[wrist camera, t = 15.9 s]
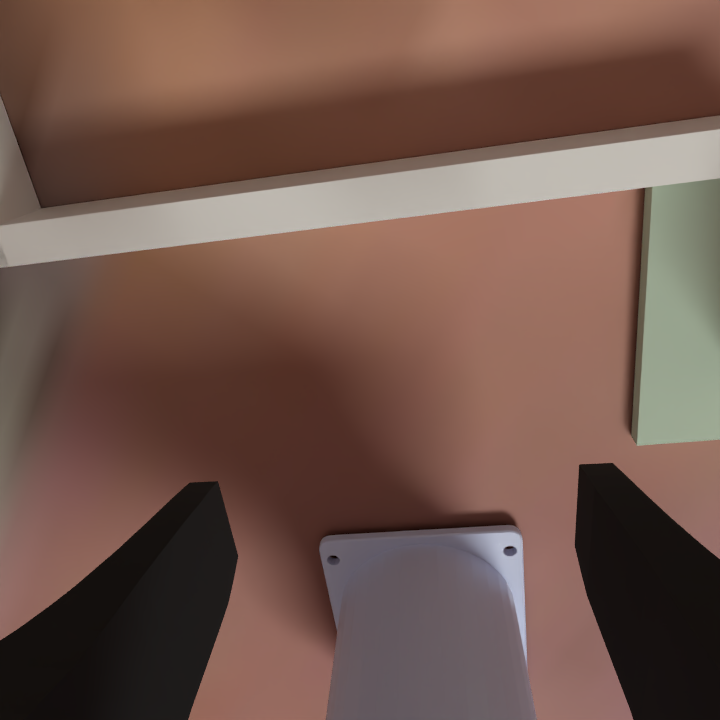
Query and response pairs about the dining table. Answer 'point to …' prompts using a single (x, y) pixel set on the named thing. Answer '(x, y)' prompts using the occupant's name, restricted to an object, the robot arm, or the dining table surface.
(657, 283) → the sage mat
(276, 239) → the dining table surface
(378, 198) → the slot rack
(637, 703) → the robot arm
